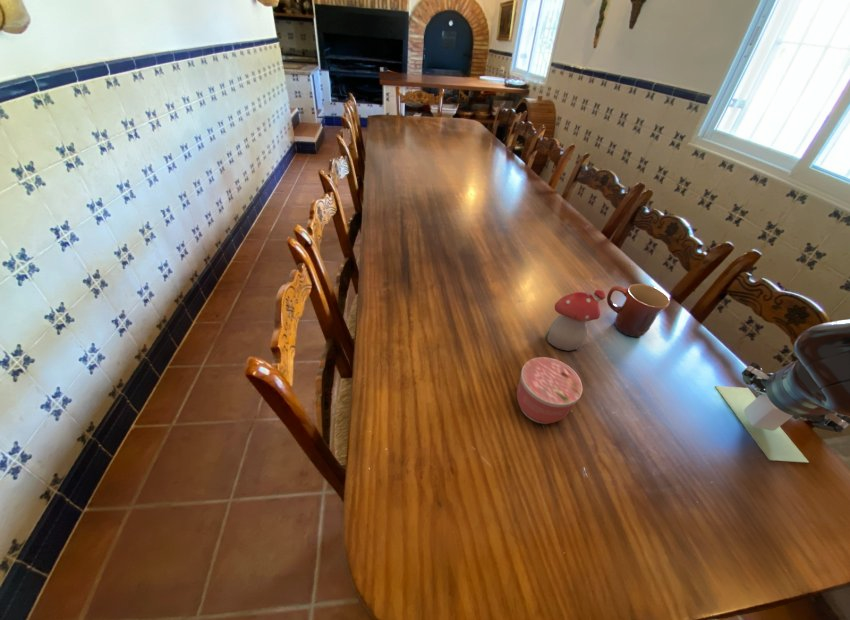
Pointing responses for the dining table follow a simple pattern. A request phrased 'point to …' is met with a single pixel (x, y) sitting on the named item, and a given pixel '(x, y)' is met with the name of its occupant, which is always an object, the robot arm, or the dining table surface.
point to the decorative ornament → (574, 319)
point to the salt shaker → (765, 414)
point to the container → (547, 390)
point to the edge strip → (769, 441)
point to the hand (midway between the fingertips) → (778, 401)
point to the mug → (637, 308)
